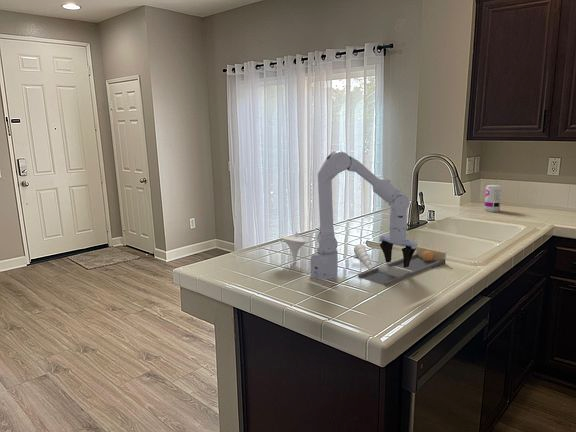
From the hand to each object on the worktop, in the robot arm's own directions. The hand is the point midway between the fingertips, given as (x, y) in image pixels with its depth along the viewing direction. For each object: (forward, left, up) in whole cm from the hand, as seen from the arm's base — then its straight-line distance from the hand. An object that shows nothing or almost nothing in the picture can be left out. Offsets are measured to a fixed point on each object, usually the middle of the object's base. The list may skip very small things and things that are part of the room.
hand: (397, 264), depth 156 cm
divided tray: (+4, 0, -7) cm, 8 cm away
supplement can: (+130, +27, -3) cm, 133 cm away
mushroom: (-17, +36, -3) cm, 40 cm away
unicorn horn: (+2, +16, -4) cm, 17 cm away
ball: (+18, -2, +1) cm, 18 cm away
